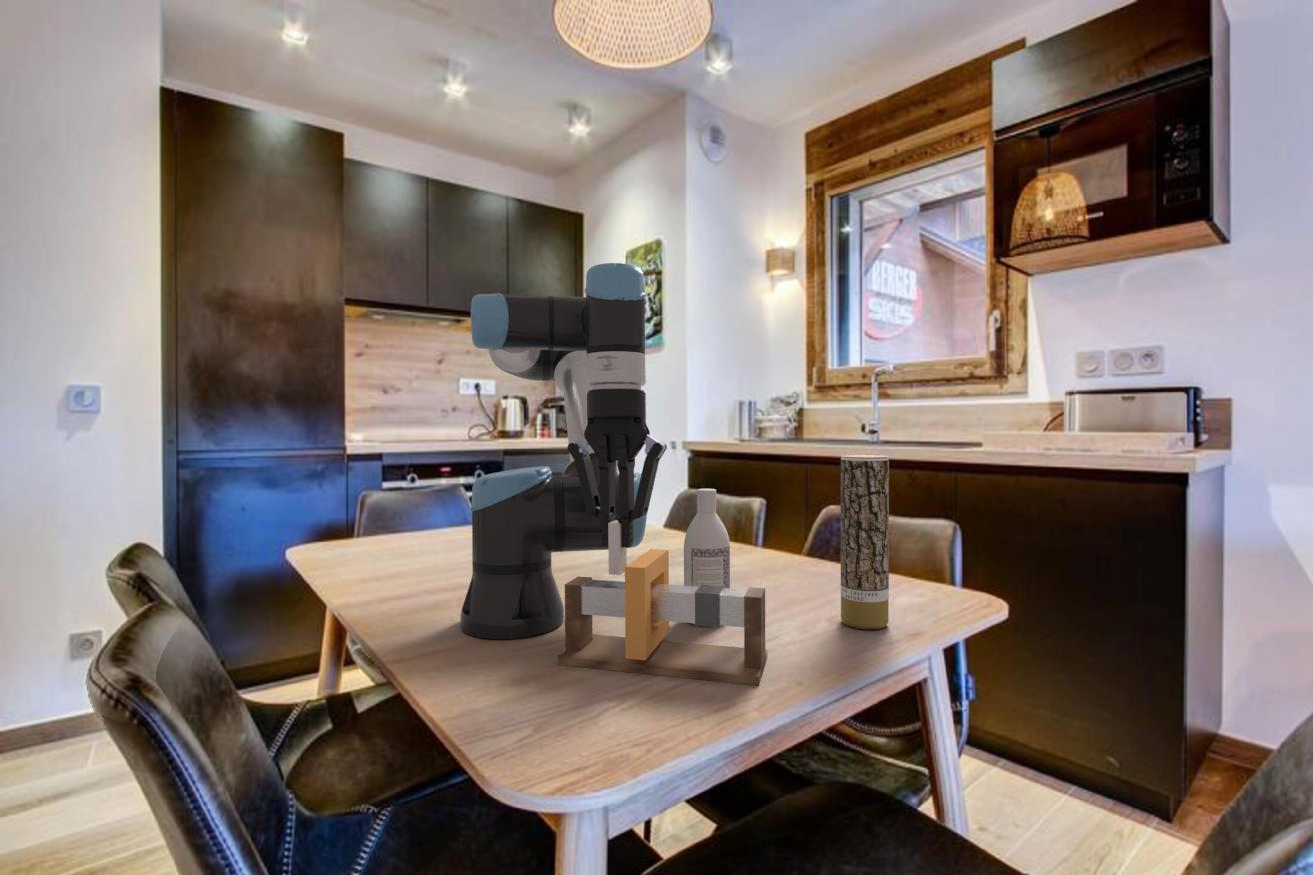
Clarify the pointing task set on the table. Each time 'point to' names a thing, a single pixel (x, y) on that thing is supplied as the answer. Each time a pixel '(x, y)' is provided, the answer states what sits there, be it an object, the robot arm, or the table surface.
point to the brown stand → (668, 646)
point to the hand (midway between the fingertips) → (617, 572)
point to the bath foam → (706, 545)
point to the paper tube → (865, 541)
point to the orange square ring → (644, 603)
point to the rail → (669, 603)
